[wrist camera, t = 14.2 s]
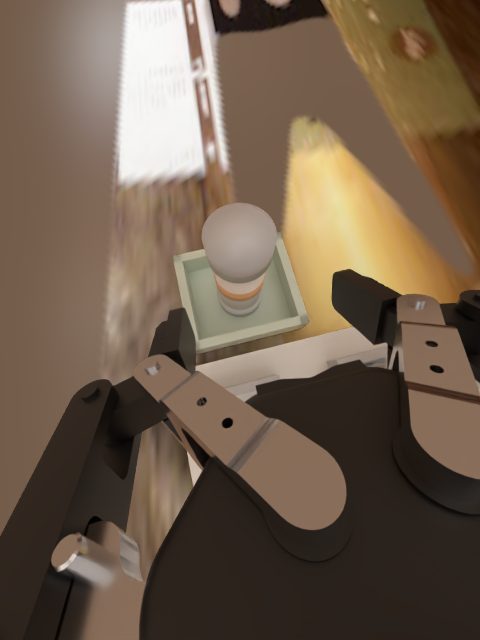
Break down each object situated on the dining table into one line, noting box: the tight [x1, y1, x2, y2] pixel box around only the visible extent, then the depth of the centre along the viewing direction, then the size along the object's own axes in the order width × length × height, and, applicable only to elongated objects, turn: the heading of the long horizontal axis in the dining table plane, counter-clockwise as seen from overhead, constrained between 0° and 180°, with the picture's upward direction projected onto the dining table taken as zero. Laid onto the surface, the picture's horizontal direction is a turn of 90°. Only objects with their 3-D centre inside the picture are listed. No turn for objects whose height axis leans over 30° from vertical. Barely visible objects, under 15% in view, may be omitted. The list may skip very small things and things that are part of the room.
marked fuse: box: [202, 203, 277, 317], centre depth 19 cm, size 4×4×11 cm
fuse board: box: [187, 327, 387, 487], centre depth 20 cm, size 24×12×4 cm, turn 104°
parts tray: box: [173, 232, 310, 354], centre depth 23 cm, size 11×10×3 cm
